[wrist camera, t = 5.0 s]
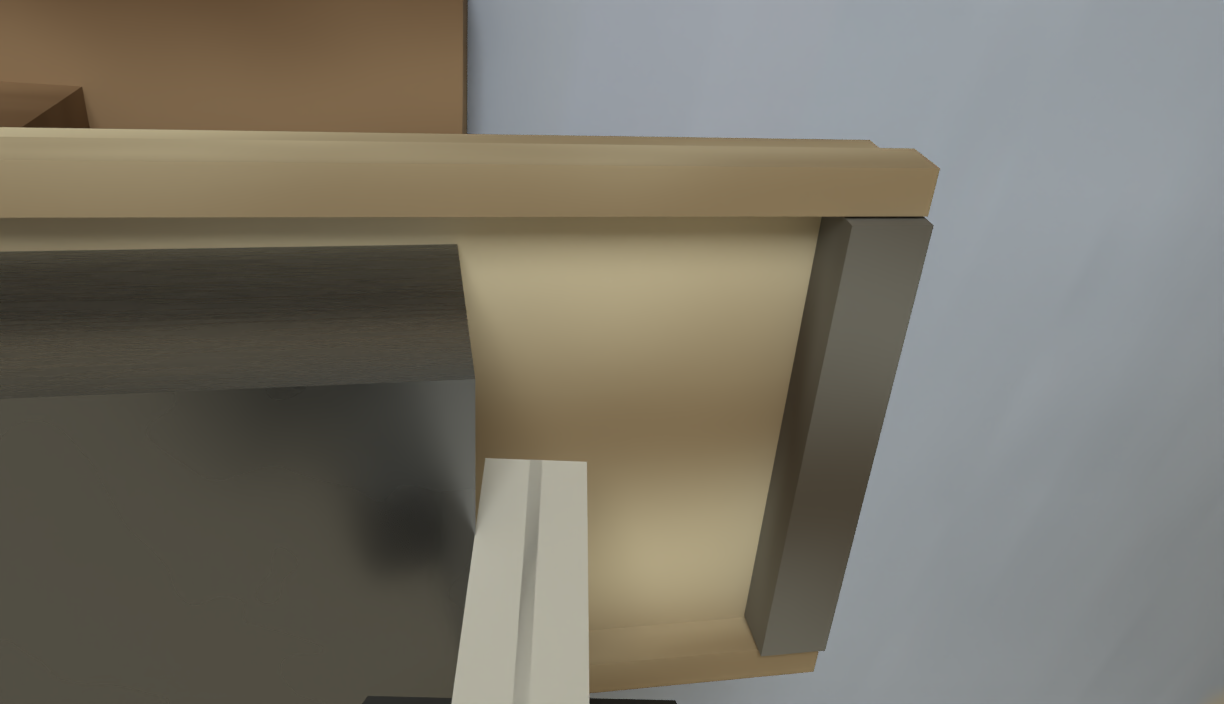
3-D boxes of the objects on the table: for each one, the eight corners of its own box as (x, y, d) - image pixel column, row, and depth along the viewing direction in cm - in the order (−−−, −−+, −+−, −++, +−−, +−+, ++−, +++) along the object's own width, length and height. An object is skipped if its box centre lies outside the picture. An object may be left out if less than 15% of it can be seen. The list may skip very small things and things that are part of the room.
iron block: (-401, 257, 12) (-663, 426, 9) (457, 243, 14) (475, 379, 11) (-201, 674, 15) (-340, 894, 12) (461, 617, 17) (475, 795, 14)
